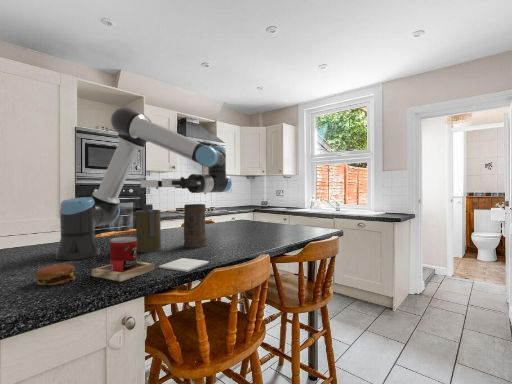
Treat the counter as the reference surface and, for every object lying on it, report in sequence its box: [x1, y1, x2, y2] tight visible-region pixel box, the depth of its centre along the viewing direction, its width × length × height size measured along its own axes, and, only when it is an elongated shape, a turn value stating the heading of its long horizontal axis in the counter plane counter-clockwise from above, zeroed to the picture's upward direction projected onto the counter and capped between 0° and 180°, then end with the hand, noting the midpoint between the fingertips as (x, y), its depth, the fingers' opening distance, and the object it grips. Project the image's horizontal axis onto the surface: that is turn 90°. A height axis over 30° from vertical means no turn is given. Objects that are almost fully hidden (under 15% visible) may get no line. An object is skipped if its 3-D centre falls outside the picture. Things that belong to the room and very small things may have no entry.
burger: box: [35, 263, 76, 286], centre depth 83 cm, size 10×9×5 cm
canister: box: [135, 203, 162, 253], centre depth 125 cm, size 11×10×20 cm
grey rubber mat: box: [158, 257, 209, 273], centre depth 100 cm, size 12×12×1 cm
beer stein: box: [183, 203, 208, 249], centre depth 136 cm, size 15×11×20 cm
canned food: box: [109, 236, 138, 273], centre depth 91 cm, size 8×8×11 cm
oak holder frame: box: [91, 260, 155, 282], centre depth 91 cm, size 13×13×2 cm
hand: (151, 183), depth 98 cm, fingers open, 13 cm apart
